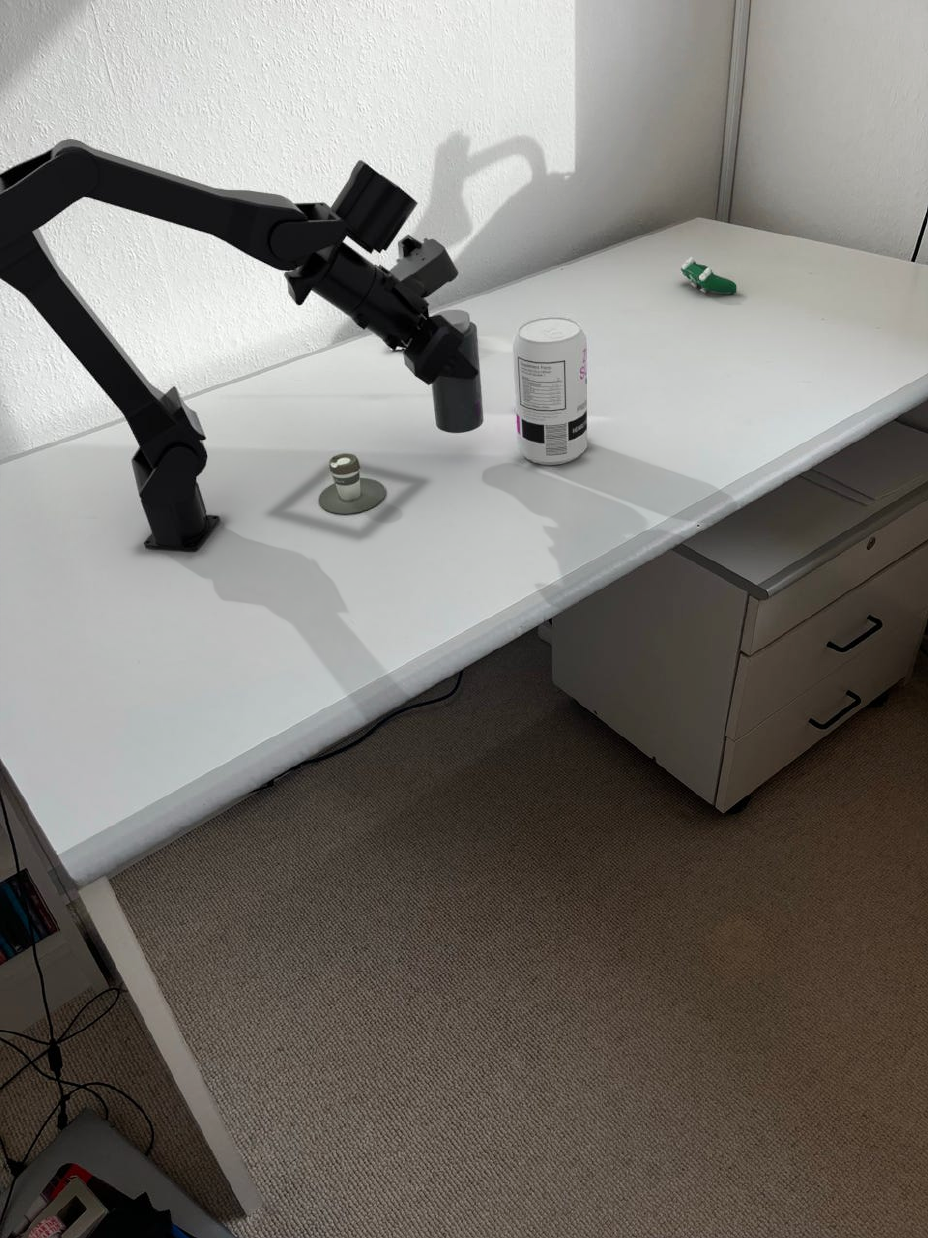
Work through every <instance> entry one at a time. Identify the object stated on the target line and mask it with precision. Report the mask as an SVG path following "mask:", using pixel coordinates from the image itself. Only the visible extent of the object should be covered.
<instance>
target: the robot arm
mask: <svg viewBox="0 0 928 1238" xmlns="http://www.w3.org/2000/svg"><path fill="white" fill-rule="evenodd" d="M83 198H88V199H91V200H95V201H97V202H101V203H104V204H108V205H112V206H115V207H118V208H121V209H125V210H129V211H131V212H135V213H138V214H141V215H145V216H147V217H150V218H155V219H158V220H161V221H165V222H168V223H170V224H171V223H172V224H174V225H178V226H180V227H184V228H188V229H191V230H194V231H198V232H201V233H204V234H207V235H211V236H213V237H216V238H218V239H219V240H221V241H223V242H225V243H227V244H229V245H230V246H232V247H233V248H234V249H236V250H238V251H240V252H242V253H244V254H245V255H247V256H248V257H251V258H253V259H255V260H257V261H259V262H260V263H263V264H265V265H267V266H269V267H271V268H273V269H275V270H278V271H282V272H283V273H284V274H283V277H284V278H285V279H286V283H287V290H288V296H290V298H291V299H292V301H293V302H294V303H295V304H296V306H302V305H303V304H304V303H305V301H306V299H307V297H309V295H310V293H311V292H313V293H314V294H316V295H317V296H319V297H321V299H323V300H325V301H326V302H328V303H329V304H330V305H332V306H333V307H335V308H336V309H337V310H339V311H340V312H342V313H343V314H344V315H346V316H348V317H349V318H350V319H351V320H352V321H353V322H354V323H355V324H356V326H358V327H359V328H360V329H362V330H363V331H364V330H366V329H367V330H368V331H369V332H370V333H372V334H374V335H375V336H377V337H378V338H380V339H381V340H382V342H383V343H384V344H385V345H386V346H387V347H388V348H390V349H393V350H392V351H396V350H395V349H396V348H397V347H402V348H403V349H404V348H405V349H404V351H403V353H402V354H403V360H404V366H405V367H406V368H407V369H408V370H409V371H410V372H411V373H412V374H413V376H414V377H416V378H417V379H419V380H420V381H422V382H423V383H424V384H426V385H427V386H430V385H432V383H434V382H435V380H436V379H437V377H438V376H440V377H452V378H460V379H469V380H474V379H475V378H476V376H477V375H478V373H479V371H478V370H477V369H476V368H475V367H474V366H473V364H472V363H471V362H470V361H469V360H468V359H467V357H466V356H465V355H464V354H463V353H462V352H461V350H460V349H459V347H460V345H461V344H462V343H463V341H464V336H465V335H464V334H463V333H462V332H461V331H460V330H459V329H458V328H457V327H456V326H454V325H453V324H452V323H451V322H449V321H448V320H447V319H446V318H444V317H443V316H441V315H435V316H433V315H431V316H430V313H429V306H430V303H429V302H428V300H426V298H428V297H429V296H431V295H432V294H434V293H435V292H437V291H438V290H439V289H440V288H442V287H443V286H444V285H446V284H447V283H451V282H453V281H455V279H457V277H458V276H459V271H458V268H457V267H456V265H455V263H454V262H453V259H452V258H451V256H450V254H449V252H448V251H447V249H446V247H445V246H444V245H443V244H442V243H440V242H438V240H436V239H435V238H430V239H428V237H425V238H422V241H423V242H421V241H420V240H418V239H416V238H415V237H413V236H412V235H410V234H406V235H405V236H403V237H402V238H401V239H400V240H398V241H397V250H398V258H397V259H396V260H395V262H396V263H397V264H395V265H394V266H393V267H392V268H391V269H387V268H386V267H384V266H383V265H382V264H379V265H377V264H374V263H373V262H371V261H370V260H369V259H367V258H366V257H364V256H363V255H362V254H360V253H359V252H357V251H356V249H354V248H353V247H351V245H349V244H347V243H346V242H345V240H346V238H349V239H350V240H351V241H352V242H354V243H355V244H356V245H358V246H359V247H360V248H361V249H363V250H364V251H366V252H367V253H369V254H370V255H372V254H373V253H374V251H376V252H377V253H378V254H381V253H382V252H383V251H384V252H387V250H388V249H389V247H390V246H391V245H392V243H393V242H394V240H395V238H396V237H397V236H398V234H399V232H400V231H401V229H402V228H403V227H404V225H405V224H406V222H407V220H408V219H409V217H410V216H411V215H412V213H413V211H414V210H415V209H416V207H417V206H418V204H419V202H417V201H416V200H415V199H414V198H413V197H412V196H411V195H410V194H408V193H407V192H406V191H405V190H404V189H402V188H401V187H400V186H399V185H398V184H396V183H395V182H393V181H391V180H390V179H388V177H386V176H384V175H383V174H380V173H379V172H378V171H376V170H375V169H374V168H373V167H371V166H370V165H369V164H368V163H366V162H365V161H364V160H362V159H359V160H357V162H356V163H355V165H354V166H353V168H352V170H351V173H350V175H349V177H348V180H347V181H346V183H345V184H344V186H343V188H342V189H341V191H340V192H339V193H338V195H337V197H336V198H335V200H334V202H333V203H332V204H331V206H329V205H328V204H327V203H326V202H324V201H323V202H322V201H321V202H319V201H318V202H293V201H292V200H291V199H289V198H287V197H286V196H284V195H281V194H278V193H270V192H263V191H256V190H255V191H254V190H249V189H225V188H219V187H213V186H210V185H207V184H204V183H201V182H198V181H194V180H191V179H188V178H186V177H183V176H180V175H176V174H173V173H171V172H167V171H165V170H161V169H158V168H155V167H152V166H148V165H146V164H143V163H140V162H137V161H134V160H131V159H127V158H124V157H122V156H118V155H116V154H113V153H109V152H106V151H103V150H101V149H98V148H94V147H92V146H90V145H88V144H87V143H85V142H83V141H81V140H79V139H74V138H67V139H63V140H60V141H59V142H58V143H56V144H55V145H54V146H53V147H51V148H50V149H48V150H46V151H44V152H43V153H40V154H38V155H36V156H33V157H31V158H29V159H25V160H24V161H22V162H20V163H17V164H15V165H13V166H11V167H10V168H7V169H6V170H4V171H2V172H1V173H0V280H1V281H3V282H4V283H6V284H8V285H9V286H10V287H12V288H13V289H15V290H16V291H17V292H19V293H21V295H23V297H25V298H26V299H27V300H28V301H29V302H30V304H31V306H33V307H34V309H35V310H36V312H38V314H39V315H40V316H41V317H42V318H43V319H44V321H45V322H46V323H47V324H48V326H49V327H50V328H51V329H52V330H53V332H54V333H55V334H56V335H57V337H58V338H59V339H60V340H61V341H62V343H63V344H64V345H65V346H66V347H67V349H68V350H69V351H70V352H71V353H72V354H73V355H74V357H75V358H76V360H78V362H79V363H80V364H81V366H82V367H83V368H84V369H85V370H86V371H87V373H88V374H89V375H90V376H91V377H92V378H93V380H94V381H95V382H96V383H97V384H98V386H99V387H100V388H101V389H102V391H103V392H104V393H105V394H106V396H107V397H108V398H109V399H110V400H111V401H112V402H113V404H114V405H115V406H116V407H117V409H118V410H119V411H120V413H121V414H122V415H123V416H124V418H125V420H126V422H127V424H128V426H129V428H130V430H131V432H132V434H133V436H134V438H135V440H136V442H137V445H138V446H139V447H138V449H137V450H136V451H135V453H134V455H133V456H132V458H131V461H130V462H131V466H132V470H133V475H134V479H135V484H136V488H137V492H138V497H139V498H140V503H141V506H142V508H143V512H144V515H145V517H146V520H147V523H148V526H149V528H150V531H151V533H150V535H149V536H148V537H147V538H146V539H145V540H144V542H143V546H144V548H145V549H153V550H155V549H156V550H167V551H168V550H171V551H184V552H197V551H198V550H199V549H200V548H201V547H202V545H203V544H204V542H205V541H206V540H207V539H208V537H209V536H210V535H211V534H212V532H213V531H214V529H215V528H216V527H217V526H218V524H219V523H220V522H221V517H220V515H217V514H216V515H215V514H207V508H206V505H205V502H204V498H203V495H202V492H201V488H200V486H199V485H200V484H199V483H198V482H197V477H199V475H201V474H202V473H203V471H204V469H205V468H206V466H207V462H208V452H207V449H206V446H205V444H204V441H206V440H207V437H206V434H205V431H204V429H203V426H202V423H201V421H200V418H199V416H198V413H197V411H195V410H193V409H192V408H190V407H189V406H188V405H187V404H186V403H185V401H184V400H183V398H182V396H181V393H180V392H179V390H178V389H177V387H176V386H172V387H171V388H170V389H169V390H168V391H166V392H165V393H164V392H163V391H161V390H160V389H159V388H157V387H155V386H154V385H153V384H152V383H151V382H149V381H150V380H148V378H147V377H146V376H145V375H144V373H142V371H141V370H140V369H139V367H138V366H137V365H136V364H135V362H134V361H133V360H132V358H131V357H130V356H129V355H128V354H127V352H126V351H125V349H124V348H123V347H122V346H121V344H120V343H119V342H118V341H117V339H116V338H115V337H114V335H113V334H112V333H111V332H110V331H109V329H108V328H107V327H106V325H105V324H104V322H102V320H101V319H100V318H99V316H98V315H97V314H96V313H95V311H94V310H93V309H92V308H91V306H90V304H88V302H87V301H86V300H85V299H84V297H83V296H82V295H81V294H80V292H79V291H78V290H77V288H76V287H75V286H74V284H73V283H72V282H71V280H69V278H68V277H67V276H66V274H65V273H64V271H63V270H62V268H60V266H59V265H58V263H57V261H56V259H55V258H54V256H53V254H52V252H51V249H50V248H49V245H48V244H47V242H46V239H45V238H44V236H43V234H42V232H41V230H40V228H42V227H43V226H45V225H46V224H48V223H49V222H50V221H51V220H53V219H54V218H55V217H57V216H59V214H61V213H62V212H63V211H65V210H66V209H68V208H69V207H70V206H72V205H73V204H75V203H76V202H78V201H80V200H81V199H83Z"/></svg>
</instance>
